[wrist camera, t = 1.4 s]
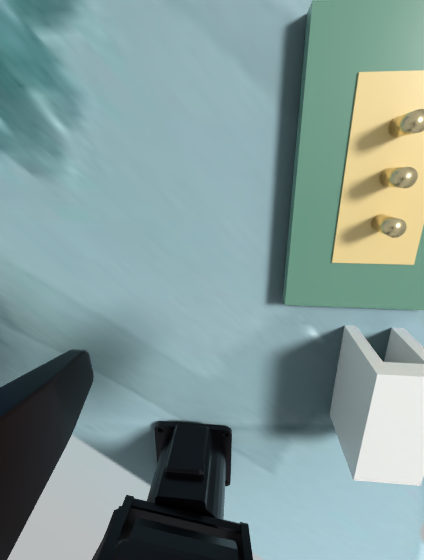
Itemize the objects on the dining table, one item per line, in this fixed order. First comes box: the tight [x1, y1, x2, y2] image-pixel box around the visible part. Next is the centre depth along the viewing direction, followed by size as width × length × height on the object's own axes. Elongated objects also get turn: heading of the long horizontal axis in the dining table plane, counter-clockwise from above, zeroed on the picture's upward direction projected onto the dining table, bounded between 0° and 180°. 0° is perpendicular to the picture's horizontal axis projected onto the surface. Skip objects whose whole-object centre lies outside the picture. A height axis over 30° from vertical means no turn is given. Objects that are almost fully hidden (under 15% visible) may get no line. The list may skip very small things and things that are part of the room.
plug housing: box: [330, 326, 424, 486], centre depth 20 cm, size 8×4×6 cm, turn 0°
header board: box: [283, 0, 424, 310], centre depth 16 cm, size 16×10×3 cm, turn 0°
